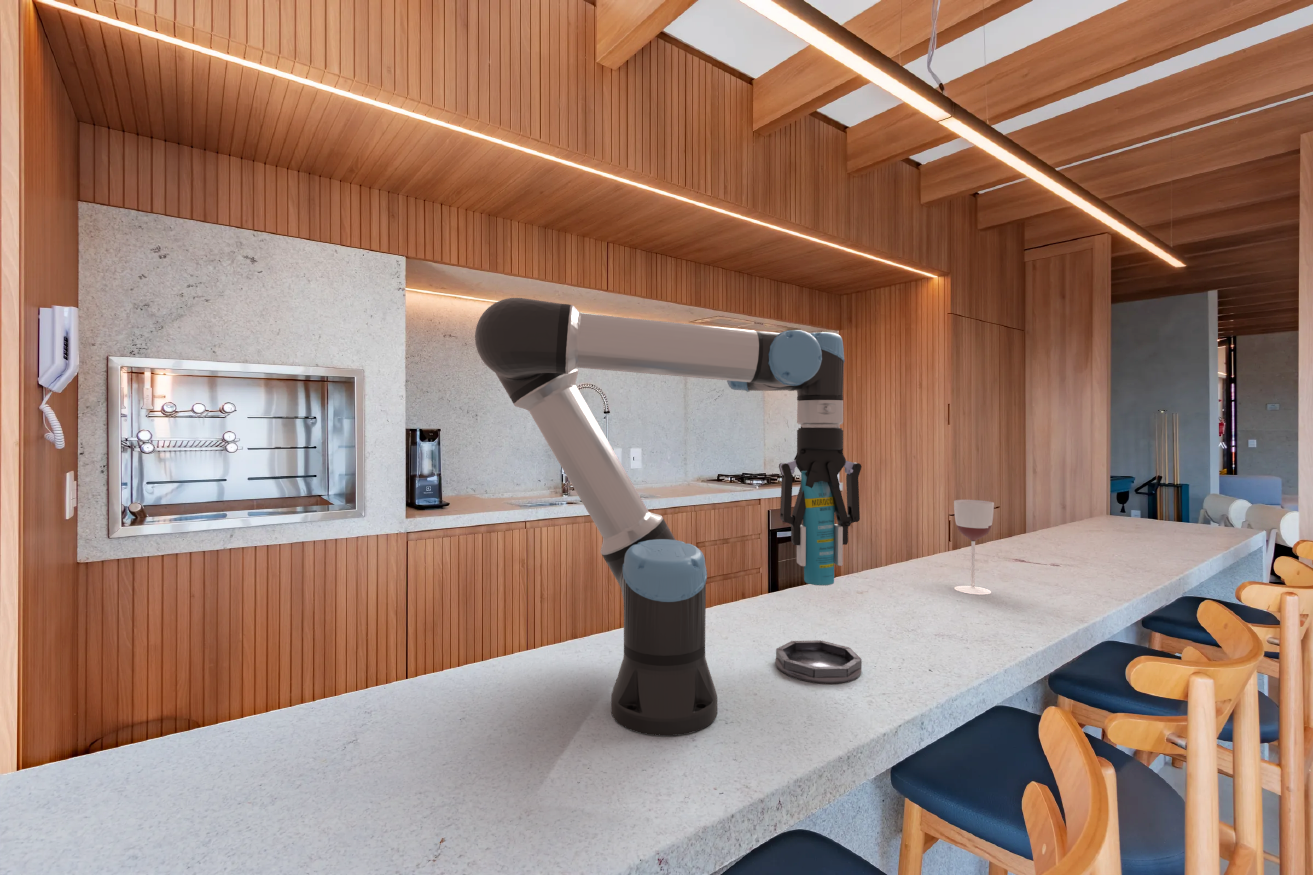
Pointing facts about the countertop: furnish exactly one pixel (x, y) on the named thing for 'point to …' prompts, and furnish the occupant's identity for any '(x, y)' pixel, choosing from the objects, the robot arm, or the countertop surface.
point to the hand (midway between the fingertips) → (819, 563)
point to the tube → (819, 533)
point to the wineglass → (973, 532)
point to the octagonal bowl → (818, 662)
